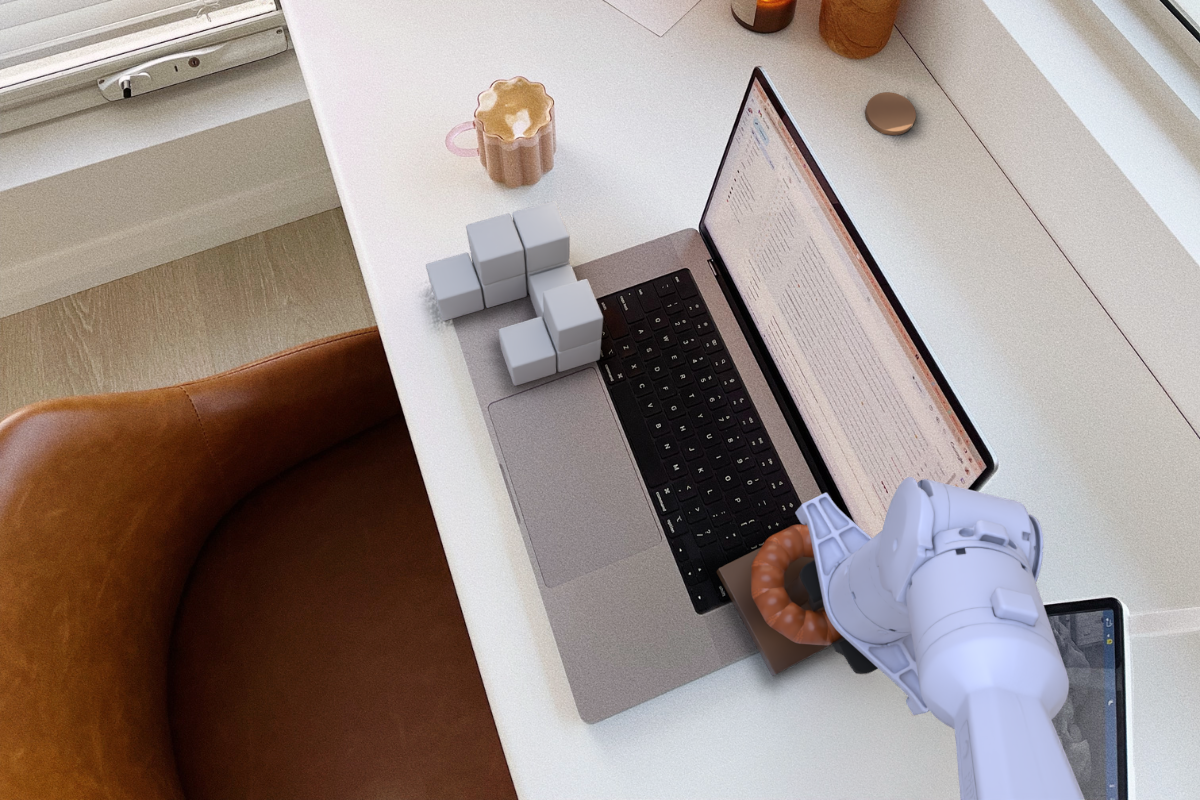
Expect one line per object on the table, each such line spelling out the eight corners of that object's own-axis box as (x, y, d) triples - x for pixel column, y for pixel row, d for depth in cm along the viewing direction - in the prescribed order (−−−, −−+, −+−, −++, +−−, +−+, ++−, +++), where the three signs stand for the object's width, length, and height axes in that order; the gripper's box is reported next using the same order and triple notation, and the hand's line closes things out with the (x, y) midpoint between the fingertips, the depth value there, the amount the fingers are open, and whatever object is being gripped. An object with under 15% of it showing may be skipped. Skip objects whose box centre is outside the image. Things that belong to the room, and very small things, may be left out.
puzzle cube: (430, 286, 83) (417, 237, 75) (556, 249, 85) (555, 199, 77) (469, 401, 78) (459, 361, 71) (600, 360, 80) (603, 317, 73)
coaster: (923, 125, 92) (925, 121, 91) (882, 142, 91) (884, 138, 90) (896, 89, 94) (898, 85, 93) (855, 105, 93) (857, 101, 92)
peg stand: (870, 624, 72) (900, 608, 66) (772, 676, 70) (793, 664, 64) (811, 524, 75) (834, 499, 69) (716, 571, 73) (731, 550, 67)
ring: (888, 614, 68) (898, 608, 66) (786, 667, 66) (793, 663, 64) (826, 511, 71) (834, 502, 69) (727, 560, 69) (732, 552, 67)
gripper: (1024, 667, 52) (935, 690, 65) (886, 451, 57) (828, 511, 69) (922, 725, 51) (851, 737, 63) (789, 497, 55) (748, 550, 68)
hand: (834, 621), depth 66 cm, fingers closed on ring, 2 cm apart
